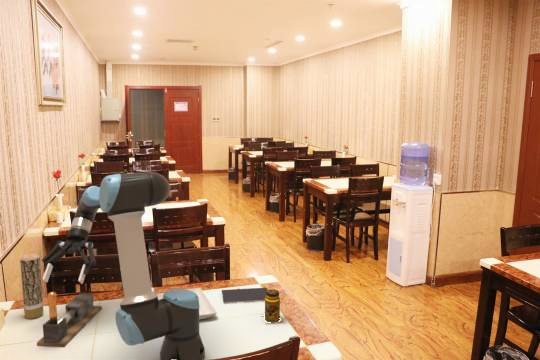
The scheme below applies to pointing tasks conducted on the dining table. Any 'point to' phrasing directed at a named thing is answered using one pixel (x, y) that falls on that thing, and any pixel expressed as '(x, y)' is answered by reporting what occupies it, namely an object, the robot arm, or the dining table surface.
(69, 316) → the wooden handle lever
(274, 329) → the dining table surface
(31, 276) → the grey patterned cylinder
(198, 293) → the square plate
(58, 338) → the stand
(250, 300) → the notebook
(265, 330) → the dining table surface
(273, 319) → the condiment
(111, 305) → the dining table surface
